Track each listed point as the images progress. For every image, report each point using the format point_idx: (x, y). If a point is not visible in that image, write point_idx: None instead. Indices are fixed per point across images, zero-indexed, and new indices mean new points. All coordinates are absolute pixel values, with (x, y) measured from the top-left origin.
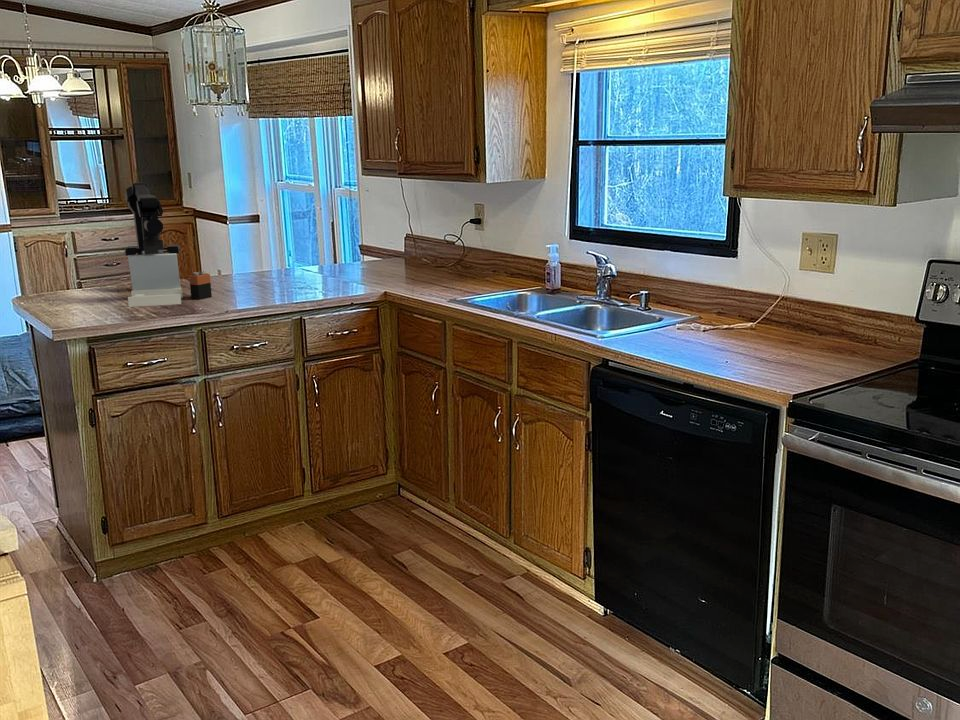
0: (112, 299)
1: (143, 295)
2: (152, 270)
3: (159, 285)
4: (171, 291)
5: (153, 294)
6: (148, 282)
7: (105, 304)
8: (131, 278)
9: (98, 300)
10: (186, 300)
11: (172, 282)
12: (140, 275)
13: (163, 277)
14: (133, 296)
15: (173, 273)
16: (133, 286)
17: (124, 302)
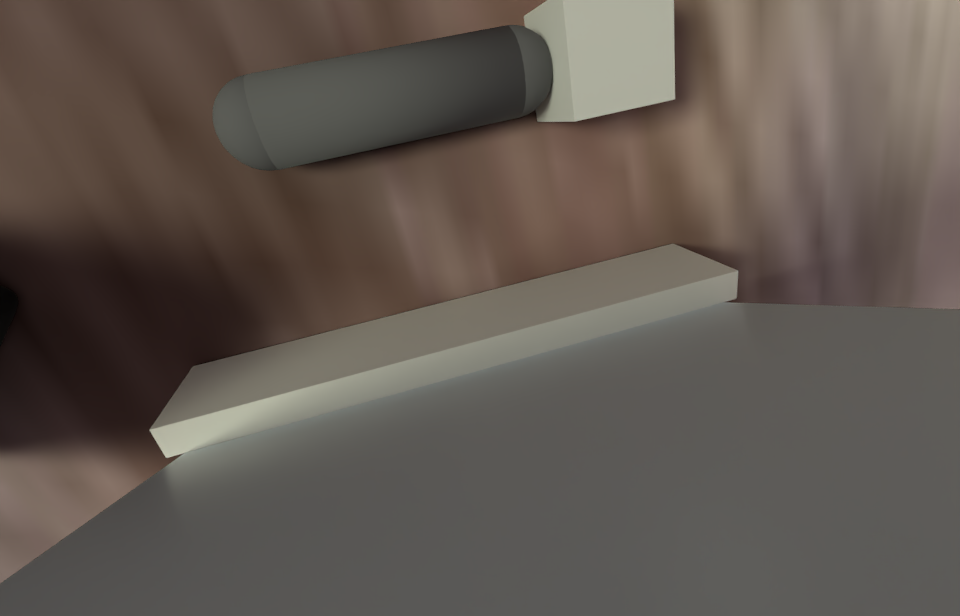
0: (818, 291)
1: (567, 6)
2: (612, 464)
3: (444, 392)
4: (295, 376)
5: (496, 310)
6: (596, 363)
7: (887, 33)
8: (876, 309)
9: (911, 252)
10: (32, 189)
11: (246, 459)
12: (788, 352)
13: (366, 458)
14: (681, 256)
15: (99, 569)
16: (750, 306)
17: (730, 129)
